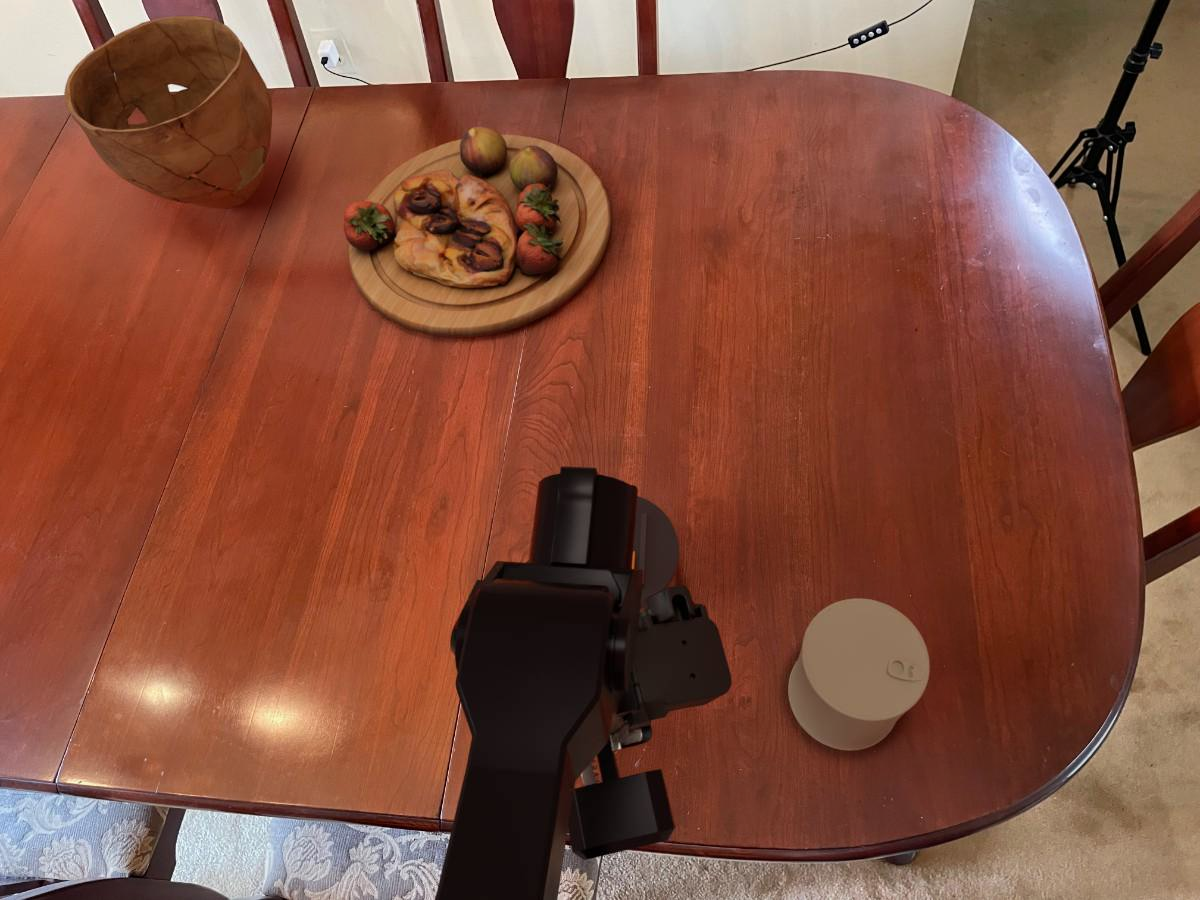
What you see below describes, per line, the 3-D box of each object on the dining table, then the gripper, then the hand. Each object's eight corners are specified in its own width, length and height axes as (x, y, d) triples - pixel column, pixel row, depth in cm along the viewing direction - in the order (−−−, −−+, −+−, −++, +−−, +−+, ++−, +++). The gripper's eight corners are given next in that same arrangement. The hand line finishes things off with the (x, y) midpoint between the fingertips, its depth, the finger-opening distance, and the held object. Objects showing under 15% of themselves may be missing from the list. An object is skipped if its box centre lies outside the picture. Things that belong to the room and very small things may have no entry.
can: (886, 767, 69) (918, 739, 59) (775, 728, 71) (787, 694, 61) (909, 661, 73) (943, 617, 63) (803, 627, 75) (818, 579, 65)
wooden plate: (318, 334, 98) (288, 287, 91) (393, 143, 113) (372, 90, 106) (589, 352, 93) (579, 304, 86) (629, 148, 108) (624, 93, 101)
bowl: (207, 138, 118) (122, 2, 101) (337, 154, 113) (271, 14, 96) (130, 249, 109) (21, 121, 91) (268, 271, 104) (181, 140, 87)
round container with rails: (680, 645, 76) (677, 611, 68) (561, 641, 77) (544, 607, 69) (682, 534, 81) (680, 490, 73) (571, 532, 82) (556, 488, 74)
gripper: (766, 820, 43) (752, 816, 58) (676, 489, 51) (683, 558, 65) (555, 870, 44) (593, 854, 58) (497, 533, 51) (543, 592, 65)
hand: (608, 705), depth 62 cm, fingers closed
